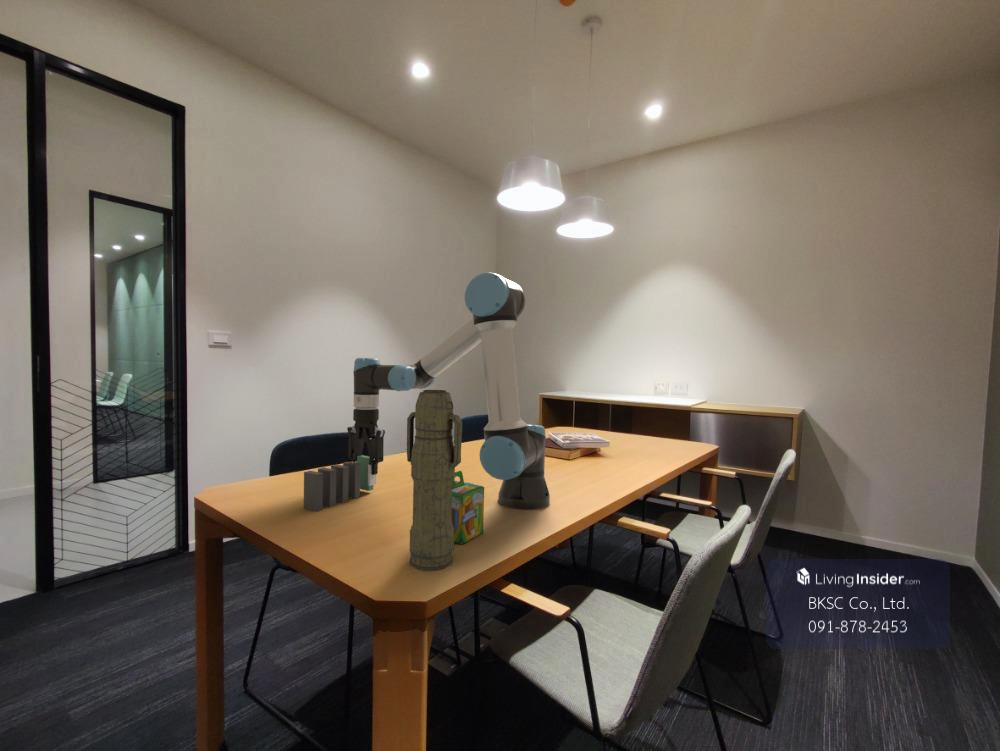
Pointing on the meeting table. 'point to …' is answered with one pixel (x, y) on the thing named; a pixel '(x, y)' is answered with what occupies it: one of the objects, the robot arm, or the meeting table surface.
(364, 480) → the green domino
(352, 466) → the domino
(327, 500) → the domino
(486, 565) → the meeting table surface
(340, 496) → the domino
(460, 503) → the chalk box
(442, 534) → the thermos
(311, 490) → the domino
